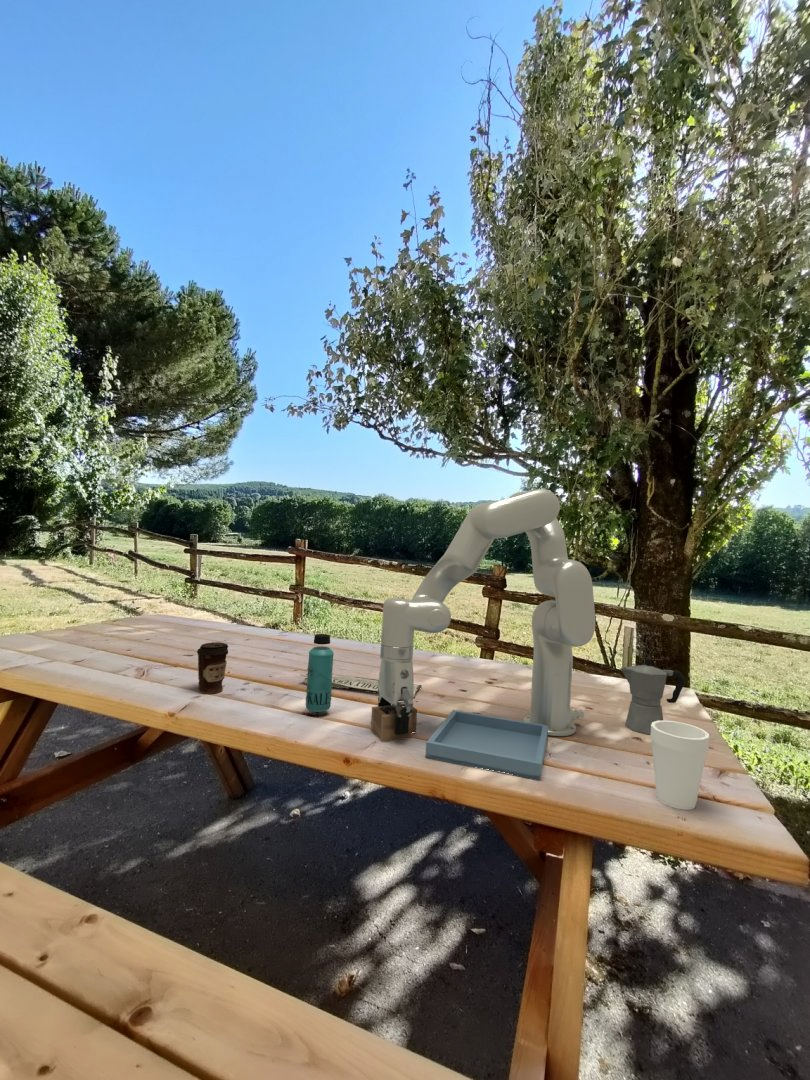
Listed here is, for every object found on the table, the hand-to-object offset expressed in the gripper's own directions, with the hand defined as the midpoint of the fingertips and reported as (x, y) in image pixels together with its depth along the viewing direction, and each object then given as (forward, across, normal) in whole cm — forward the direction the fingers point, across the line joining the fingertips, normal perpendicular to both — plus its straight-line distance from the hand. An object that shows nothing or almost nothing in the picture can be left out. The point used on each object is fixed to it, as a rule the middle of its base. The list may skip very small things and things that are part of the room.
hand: (392, 726), depth 118 cm
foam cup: (+2, -45, -37) cm, 58 cm away
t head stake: (+2, 0, 0) cm, 2 cm away
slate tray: (+2, -14, -18) cm, 23 cm away
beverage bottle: (+2, +18, +12) cm, 22 cm away
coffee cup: (+2, +44, +35) cm, 56 cm away
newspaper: (+2, +36, -6) cm, 37 cm away
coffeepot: (+2, -17, -65) cm, 67 cm away
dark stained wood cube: (+2, 0, -1) cm, 2 cm away
